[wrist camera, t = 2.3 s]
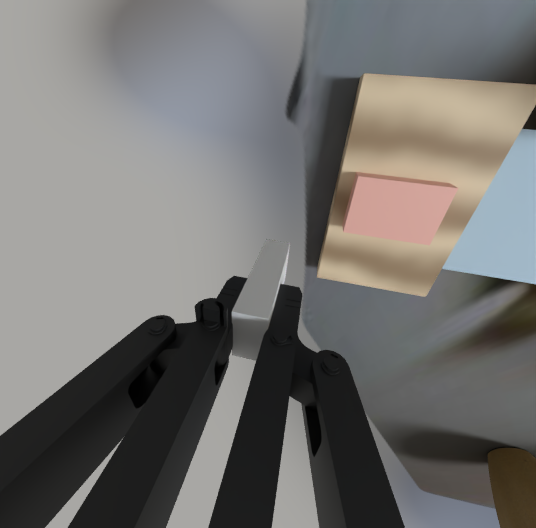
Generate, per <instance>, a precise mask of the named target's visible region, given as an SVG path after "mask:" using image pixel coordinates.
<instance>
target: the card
mask: <svg viewBox="0 0 536 528" xmlns="http://www.w3.org/2000/svg"><path fill="white" fill-rule="evenodd" d="M457 190H458V188H457V187H455V186H454V185H452V184H450V183H445V182H437V181H428V180H420V179H411V178H403V177H395V176H386V175H378V174H370V173H361V172H356V175H355V179H354V183H353V186H352V190H351V194H350V198H349V202H348V205H347V209H346V213H345V217H344V220H343V224H342V227H343V232H346V233H352V234H359V235H365V236H372V237H378V238H385V239H391V240H398V241H404V242H411V243H417V244H424V245H430V244H431V242H432V240H433V238H434V236H435V234H436V232H437V230H438V228H439V226H440V224H441V222H442V220H443V218H444V216H445V214H446V212H447V210H448V208H449V206H450V204H451V202H452V200H453V198H454V196H455V194H456V192H457Z"/></svg>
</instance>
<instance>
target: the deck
mask: <svg viewBox="0 0 536 528" xmlns="http://www.w3.org/2000/svg"><path fill="white" fill-rule="evenodd" d="M535 105H536V85H533V84H518V83H503V82H488V81H473V80H458V79H442V78H427V77H412V76H397V75H382V74H366V73H364V74H363V75H362V76H361V77H360V80H359V85H358V89H357V94H356V98H355V103H354V107H353V111H352V116H351V120H350V125H349V129H348V134H347V138H346V142H345V147H344V151H343V156H342V160H341V165H340V169H339V173H338V178H337V182H336V187H335V191H334V196H333V200H332V204H331V209H330V213H329V218H328V222H327V227H326V231H325V235H324V240H323V244H322V249H321V253H320V258H319V262H318V268H317V277H318V278H324V279H329V280H335V281H340V282H346V283H352V284H357V285H363V286H368V287H374V288H379V289H385V290H390V291H396V292H401V293H407V294H413V295H418V296H424V297H426V295H427V294H428V292H429V290H430V288H431V287H432V285H433V283H434V281H435V280H436V278H437V276H438V274H439V273H440V271H441V269H442V267H443V266H444V264H445V262H446V260H447V259H448V257H449V255H450V253H451V252H452V250H453V248H454V246H455V245H456V243H457V241H458V239H459V238H460V236H461V234H462V233H463V231H464V229H465V227H466V226H467V224H468V222H469V220H470V219H471V217H472V215H473V213H474V212H475V210H476V208H477V206H478V205H479V203H480V201H481V199H482V198H483V196H484V194H485V192H486V191H487V189H488V187H489V185H490V184H491V182H492V180H493V178H494V177H495V175H496V173H497V171H498V170H499V168H500V166H501V164H502V163H503V161H504V159H505V158H506V156H507V154H508V152H509V151H510V149H511V147H512V145H513V144H514V142H515V140H516V138H517V137H518V135H519V133H520V131H521V130H522V128H523V126H524V124H525V123H526V121H527V119H528V117H529V116H530V114H531V112H532V110H533V109H534V107H535ZM356 172H361V173H370V174H378V175H386V176H395V177H403V178H411V179H420V180H428V181H437V182H445V183H450V184H452V185H454V186H455V187H457V188H458V190H457V192H456V194H455V196H454V198H453V200H452V202H451V204H450V206H449V208H448V210H447V212H446V214H445V216H444V218H443V220H442V222H441V224H440V226H439V228H438V230H437V232H436V234H435V236H434V238H433V240H432V242H431V244H430V245H424V244H417V243H411V242H404V241H398V240H391V239H385V238H378V237H372V236H365V235H359V234H352V233H346V232H343V227H342V224H343V220H344V217H345V213H346V209H347V205H348V202H349V198H350V194H351V190H352V186H353V183H354V179H355V175H356Z"/></svg>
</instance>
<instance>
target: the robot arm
mask: <svg viewBox="0 0 536 528" xmlns="http://www.w3.org/2000/svg"><path fill="white" fill-rule="evenodd" d="M289 248H290V243H288V242H281V241H276V240H270V239H266V241H265V243H264V245H263V247H262V249H261V252H260V253H259V256H258V258H257V260H256V262H255V264H254V266H253V268H252V270H251V272H250V274H249V277H248V278H243V277H237V276H233V277H232V278H230V279H229V280H228V281H227V282H226V283H225V285H224V287H223V289H222V290H221V292H220V294H219V295H218V297H217V298H209V299H204V300H202V301H200V302H198V303H197V304H196V305H195V312H196V322H192V323H180V324H175V322H174V320H173V319H172V318H171V317H169V316H165V315H160V316H155V317H152V318H150V319H148V320H146V321H145V322H144V323H142V324H141V325H140V326H139V327H137V328H136V329H135V330H133V331H132V332H131V333H130V334H128V335H127V336H126V337H125V338H123V339H122V340H121V341H120V342H118V343H117V344H116V345H115V346H113V347H112V348H111V349H110V350H108V351H107V352H106V353H105V354H103V355H102V356H101V357H99V358H98V359H97V360H96V361H94V362H93V363H92V364H91V365H89V366H88V367H87V368H85V369H84V370H83V371H82V372H80V373H79V374H78V375H77V376H75V377H74V378H73V379H72V380H70V381H69V382H68V383H67V384H65V385H64V386H63V387H62V388H61V389H59V390H58V391H56V392H55V393H54V394H53V395H52V396H50V397H49V398H48V399H46V400H45V401H44V402H43V403H41V404H40V405H39V406H38V407H36V408H35V409H34V410H33V411H31V412H30V413H29V414H27V415H26V416H25V417H24V418H22V419H21V420H20V421H19V422H17V423H16V424H15V425H13V426H12V427H11V428H10V429H8V430H7V431H6V432H5V433H3V434H2V435H1V436H0V528H45V527H46V526H47V525H48V524H49V522H50V521H51V520H52V519H53V518H54V517H55V516H56V514H57V513H58V512H59V511H60V510H61V509H62V507H63V506H64V505H65V504H66V503H67V502H68V501H69V499H70V498H71V497H72V496H73V495H74V494H75V492H76V491H77V490H78V489H79V488H80V487H81V486H82V485H83V483H84V482H85V481H86V480H87V479H88V478H89V476H90V475H91V474H92V473H93V472H94V471H95V470H96V468H97V467H98V466H99V465H100V464H101V463H102V462H103V460H104V459H105V458H106V457H107V456H108V455H109V453H110V452H111V451H112V450H113V449H114V448H115V446H116V445H117V444H118V443H119V442H120V441H121V440H122V439H123V440H122V441H121V443H120V444H119V446H118V448H117V449H116V451H115V452H114V454H113V456H112V457H111V459H110V460H109V462H108V464H107V465H106V467H105V469H104V470H103V472H102V473H101V475H100V477H99V478H98V480H97V481H96V483H95V485H94V486H93V488H92V490H91V491H90V493H89V494H88V496H87V497H86V499H85V501H84V502H83V504H82V506H81V507H80V509H79V510H78V512H77V513H76V515H75V517H74V519H73V520H72V522H71V523H70V525H69V526H68V528H166V526H167V523H168V520H169V518H170V515H171V513H172V510H173V508H174V505H175V502H176V500H177V497H178V495H179V492H180V489H181V487H182V484H183V482H184V479H185V476H186V473H187V471H188V469H189V466H190V463H191V461H192V458H193V456H194V453H195V451H196V448H197V445H198V443H199V440H200V437H201V435H202V432H203V430H204V427H205V425H206V422H207V419H208V417H209V414H210V412H211V409H212V406H213V404H214V401H215V399H216V396H217V393H218V391H219V388H220V386H221V383H222V381H223V378H224V375H225V373H226V370H227V368H228V363H229V355H230V353H231V350H232V355H235V356H239V357H243V358H247V359H252V360H256V364H255V367H254V371H253V374H252V378H251V381H250V385H249V388H248V391H247V395H246V398H245V402H244V406H243V409H242V412H241V416H240V419H239V423H238V426H237V430H236V433H235V437H234V440H233V444H232V447H231V451H230V454H229V458H228V461H227V465H226V468H225V472H224V475H223V479H222V482H221V485H220V489H219V492H218V496H217V499H216V503H215V507H214V510H213V513H212V517H211V521H210V524H209V528H271V527H272V521H273V513H274V506H275V498H276V491H277V483H278V476H279V469H280V461H281V454H282V446H283V439H284V431H285V424H286V417H287V410H288V402H289V396H291V397H292V398H294V399H295V400H297V401H299V402H300V403H302V410H303V417H304V424H305V430H306V438H307V445H308V452H309V458H310V466H311V473H312V480H313V487H314V493H315V500H316V507H317V514H318V521H319V528H404V524H403V521H402V518H401V515H400V512H399V509H398V507H397V504H396V501H395V498H394V495H393V492H392V489H391V486H390V483H389V480H388V478H387V475H386V472H385V469H384V466H383V463H382V460H381V457H380V455H379V452H378V449H377V446H376V443H375V440H374V437H373V435H372V432H371V429H370V426H369V423H368V420H367V417H366V414H365V411H364V409H363V406H362V403H361V400H360V397H359V394H358V391H357V388H356V386H355V383H354V380H353V377H352V374H351V371H350V368H349V366H348V364H347V362H346V360H345V359H344V358H343V357H342V356H341V355H340V354H338V353H336V352H334V351H329V350H323V351H319V352H318V353H316V352H314V351H312V350H311V349H309V348H307V347H306V346H304V345H303V344H302V343H301V341H300V340H299V338H298V334H297V330H298V322H299V315H300V308H301V300H302V293H301V290H300V288H299V287H294V286H289V285H284V281H285V277H286V269H287V262H288V255H289ZM123 437H124V438H123Z"/></svg>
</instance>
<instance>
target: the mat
mask: <svg viewBox="0 0 536 528" xmlns="http://www.w3.org/2000/svg"><path fill="white" fill-rule="evenodd" d="M442 269H447V270H453V271H459V272H465V273H471V274H477V275H483V276H490V277H496V278H502V279H508V280H514V281H520V282H526V283H532V284H536V130H529V129H522V130H521V131H520V133H519V135H518V137H517V138H516V140H515V142H514V144H513V145H512V147H511V149H510V151H509V152H508V154H507V156H506V158H505V159H504V161H503V163H502V164H501V166H500V168H499V170H498V171H497V173H496V175H495V177H494V178H493V180H492V182H491V184H490V185H489V187H488V189H487V191H486V192H485V194H484V196H483V198H482V199H481V201H480V203H479V205H478V206H477V208H476V210H475V212H474V213H473V215H472V217H471V219H470V220H469V222H468V224H467V226H466V227H465V229H464V231H463V233H462V234H461V236H460V238H459V239H458V241H457V243H456V245H455V246H454V248H453V250H452V252H451V253H450V255H449V257H448V259H447V260H446V262H445V264H444V266H443V267H442Z"/></svg>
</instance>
